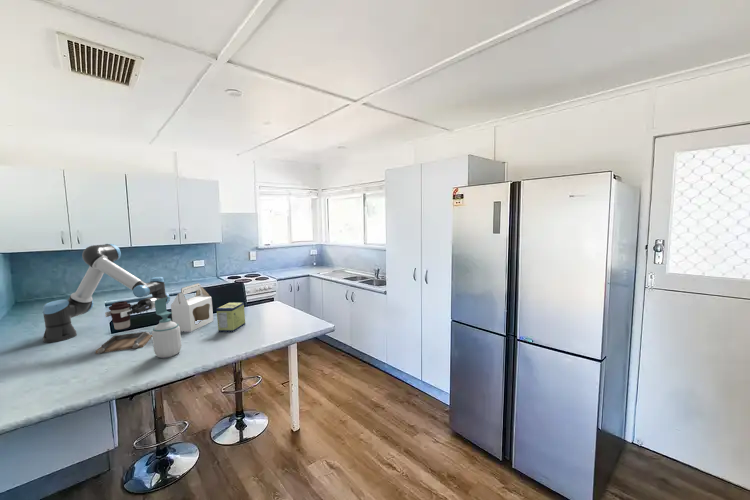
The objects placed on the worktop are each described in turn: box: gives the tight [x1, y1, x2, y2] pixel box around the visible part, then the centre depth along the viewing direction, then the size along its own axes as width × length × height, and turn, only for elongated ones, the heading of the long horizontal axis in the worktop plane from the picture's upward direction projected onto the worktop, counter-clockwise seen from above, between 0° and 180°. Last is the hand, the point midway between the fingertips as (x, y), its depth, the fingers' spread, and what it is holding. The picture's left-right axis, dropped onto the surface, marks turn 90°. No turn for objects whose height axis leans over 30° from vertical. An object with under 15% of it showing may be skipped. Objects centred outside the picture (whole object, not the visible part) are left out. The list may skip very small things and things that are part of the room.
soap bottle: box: [151, 297, 182, 359], centre depth 170 cm, size 12×12×31 cm
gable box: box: [170, 282, 214, 333], centre depth 217 cm, size 22×13×28 cm, turn 170°
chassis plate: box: [95, 331, 153, 354], centre depth 187 cm, size 22×21×4 cm
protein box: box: [216, 301, 246, 333], centre depth 210 cm, size 10×16×16 cm
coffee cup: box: [108, 301, 132, 330], centre depth 188 cm, size 10×10×15 cm
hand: (113, 315), depth 184 cm, fingers closed on coffee cup, 10 cm apart
